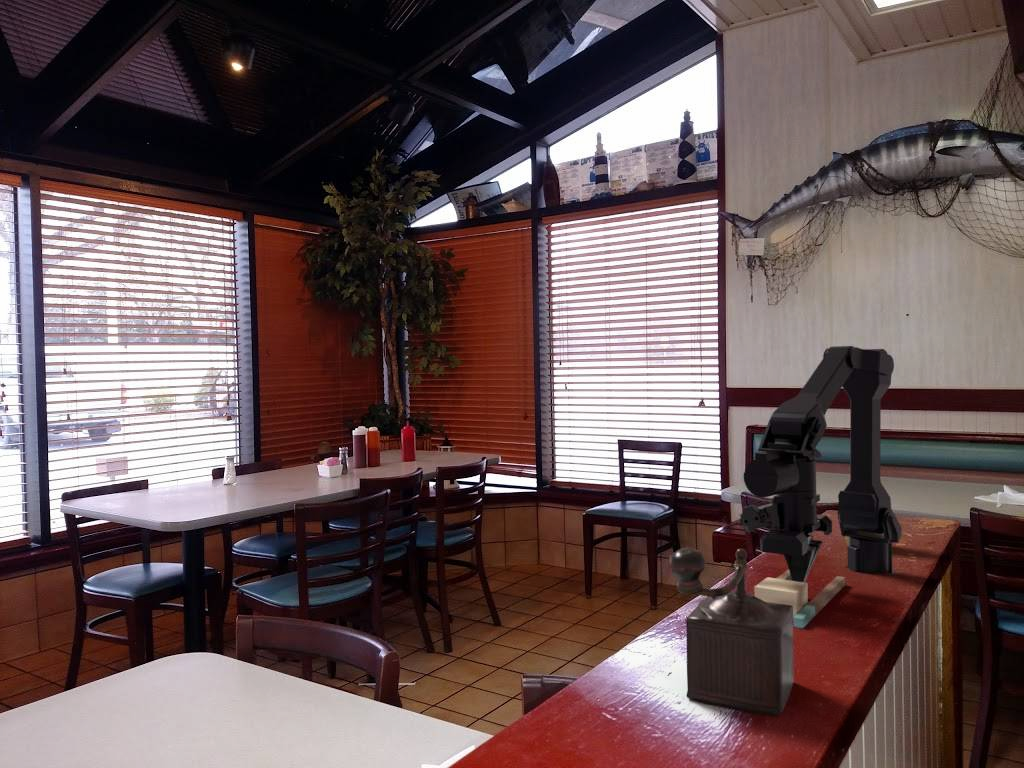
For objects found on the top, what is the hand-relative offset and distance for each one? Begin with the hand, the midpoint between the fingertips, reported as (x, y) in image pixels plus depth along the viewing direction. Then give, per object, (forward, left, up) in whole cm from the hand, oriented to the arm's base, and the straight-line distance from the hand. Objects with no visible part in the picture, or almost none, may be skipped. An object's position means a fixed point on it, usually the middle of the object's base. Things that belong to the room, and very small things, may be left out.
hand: (798, 587), depth 122 cm
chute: (+1, +1, -2) cm, 3 cm away
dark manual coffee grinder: (+25, +32, -3) cm, 40 cm away
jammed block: (+6, +6, -2) cm, 9 cm away
